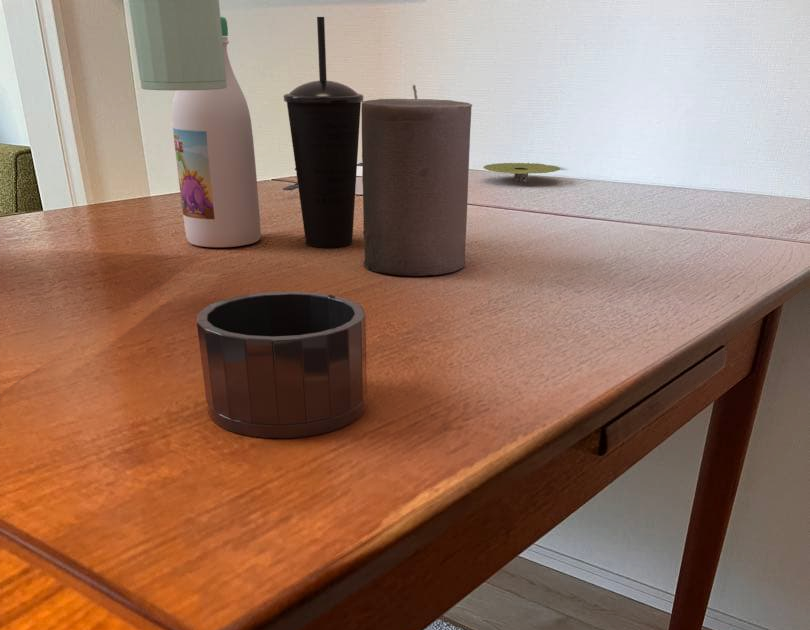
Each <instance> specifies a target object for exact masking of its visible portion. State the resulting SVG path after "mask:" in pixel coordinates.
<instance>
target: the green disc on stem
mask: <svg viewBox="0 0 810 630" xmlns="http://www.w3.org/2000/svg"><path fill="white" fill-rule="evenodd" d="M482 168H483V169H485V170H486V171H489V172H495V173H503V174H513V175H514V176H513V178H515V181H518V182H519V183H521V182H522V181H525V182H528V179H529V174H548V173H554V172H557V171H561V167H559V166H556V165H550V164H546V163H545V164H544V163H534V162H533V163H532V162H531V163H530V162H526V163H525V162H503V163H502V162H499V163H491V164H486V165H484V166H483V167H482Z"/></svg>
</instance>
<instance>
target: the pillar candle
mask: <svg viewBox="0 0 810 630" xmlns="http://www.w3.org/2000/svg"><path fill="white" fill-rule="evenodd" d="M412 90H413V95H414V96H413V97H414V98H378V99H369V100H368V99H367V100H364V101H363V102H361V110H360V113H361V163H363V169H362V182H363V195H362V209H363V211H362V213H363V217H362V219H363V221H362V222H363V225H362V226H363V227H362V228H363V232H362V234H363V246H364V248H363V249H364V260H363V266H364V267H365V268H366V269H368V270H370V271H371V272H375V273H381V274H385V275H386V274H387V275H393V276H406V277H413V276H414V277H421V276H423V277H424V276H425V277H426V276H427V277H428V276H437V275H445V274H449V273H454V272H457V271H460V270H462V269H463V268H464V266H465V262H466V241H467V225H468V224H467V222H468V221H467V220H468V199H469V197H468V196H469V171H470V170H469V169H470V148H471V125H472V106H473V104H471V103H470V102H466V101H465V102H464V101H457V100H452V99H451V100H449V99H434V98H418V95H417V92H418V91H417V86H416V84H413V85H412Z"/></svg>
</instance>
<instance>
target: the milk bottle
mask: <svg viewBox="0 0 810 630" xmlns="http://www.w3.org/2000/svg"><path fill="white" fill-rule="evenodd" d="M220 18H221V28H222V39H223V49H224V60H225V70H226V84H227V87H226V88H223V89H212V90H174V91H175V92H174V95H173V101H172V111H171V113H172V116H171V118H172V131H173V132H172V133H173V142H174V151H175V160H176V169H177V178H178V184H179V192H180V201H181V208H182V209H181V210H182V216H183V225H184V231H185V237H186V240H187V242H188V243H189V244H191V245H194V246H198V247H206V248H232V247H242V246H247V245H251V244H254V243H258V242H259V240H260V238H261V236H262V231H261V229H262V227H261V216H260V215H261V214H260V203H259V191H258V189H259V188H258V179H257V178H258V177H257V167H256V156H255V144H254V143H255V142H254V133H253V127H252V119H251V114H250V109H249V106H248V103H247V99H246V97H245V95H244V92H243V90H242V88H241V86H240V83H239V82H238V79H237V77H236V75H235V73H234V70H233V68H232V65H231V62H230V59H229V53H228V45H229V43H230V41H229V39H228V35H229V29H228V21H227V18H226V17H224V16H220Z"/></svg>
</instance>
